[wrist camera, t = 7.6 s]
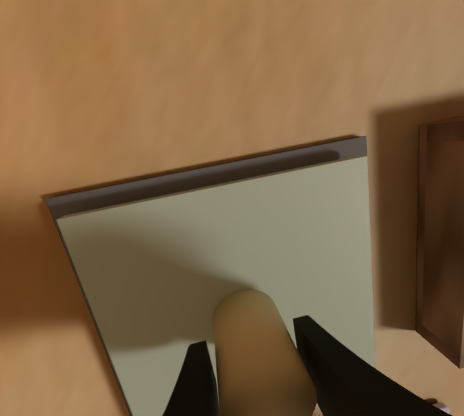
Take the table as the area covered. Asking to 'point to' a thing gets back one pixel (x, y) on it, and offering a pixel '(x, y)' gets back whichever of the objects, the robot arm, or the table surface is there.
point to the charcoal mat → (192, 181)
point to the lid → (230, 283)
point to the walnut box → (441, 238)
